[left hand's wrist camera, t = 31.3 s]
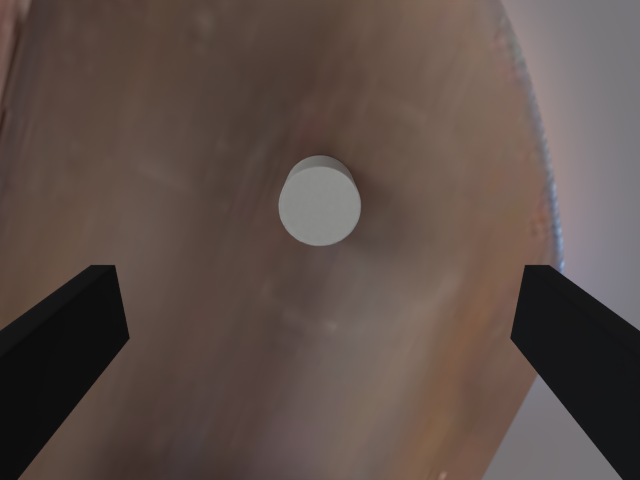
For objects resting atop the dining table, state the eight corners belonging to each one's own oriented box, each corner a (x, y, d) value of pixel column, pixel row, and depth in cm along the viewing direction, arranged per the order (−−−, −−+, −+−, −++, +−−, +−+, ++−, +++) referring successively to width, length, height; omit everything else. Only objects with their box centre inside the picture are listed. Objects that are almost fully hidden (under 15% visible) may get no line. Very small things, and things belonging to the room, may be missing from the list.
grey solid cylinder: (270, 191, 28) (261, 209, 24) (318, 139, 27) (317, 148, 22) (321, 236, 30) (321, 261, 25) (369, 188, 28) (378, 206, 24)
